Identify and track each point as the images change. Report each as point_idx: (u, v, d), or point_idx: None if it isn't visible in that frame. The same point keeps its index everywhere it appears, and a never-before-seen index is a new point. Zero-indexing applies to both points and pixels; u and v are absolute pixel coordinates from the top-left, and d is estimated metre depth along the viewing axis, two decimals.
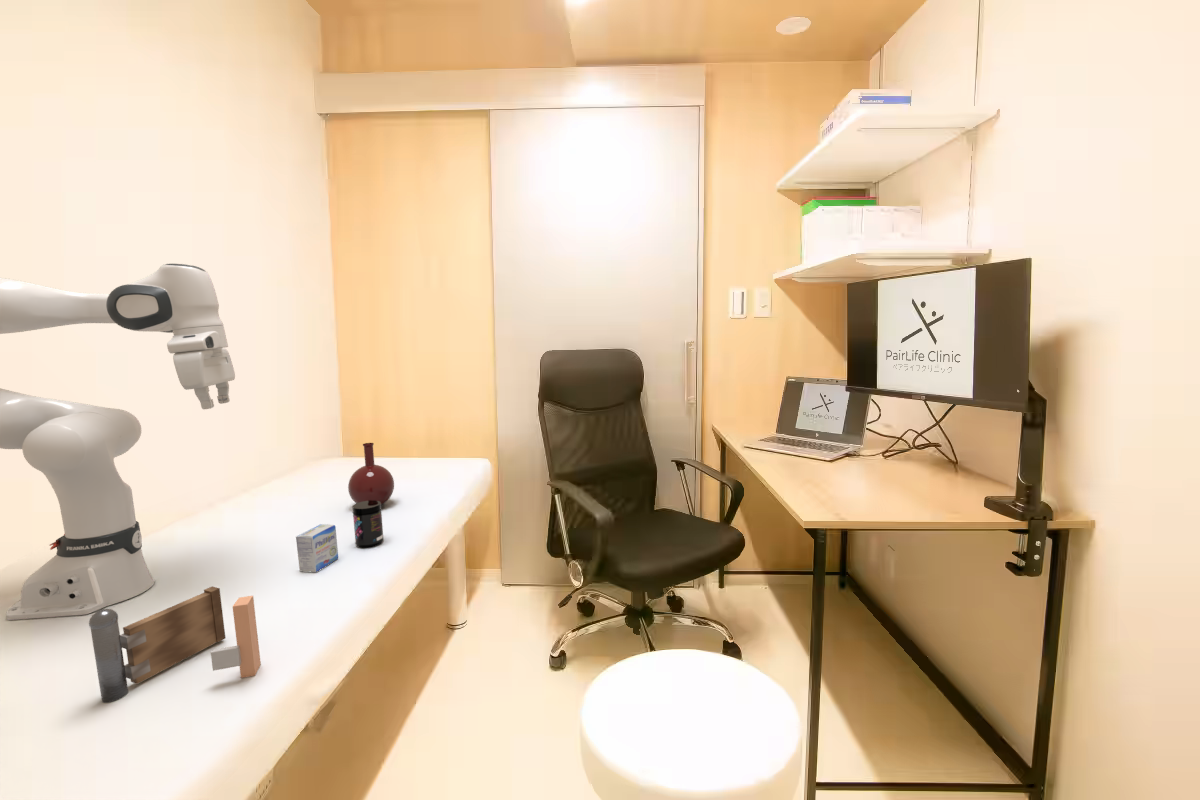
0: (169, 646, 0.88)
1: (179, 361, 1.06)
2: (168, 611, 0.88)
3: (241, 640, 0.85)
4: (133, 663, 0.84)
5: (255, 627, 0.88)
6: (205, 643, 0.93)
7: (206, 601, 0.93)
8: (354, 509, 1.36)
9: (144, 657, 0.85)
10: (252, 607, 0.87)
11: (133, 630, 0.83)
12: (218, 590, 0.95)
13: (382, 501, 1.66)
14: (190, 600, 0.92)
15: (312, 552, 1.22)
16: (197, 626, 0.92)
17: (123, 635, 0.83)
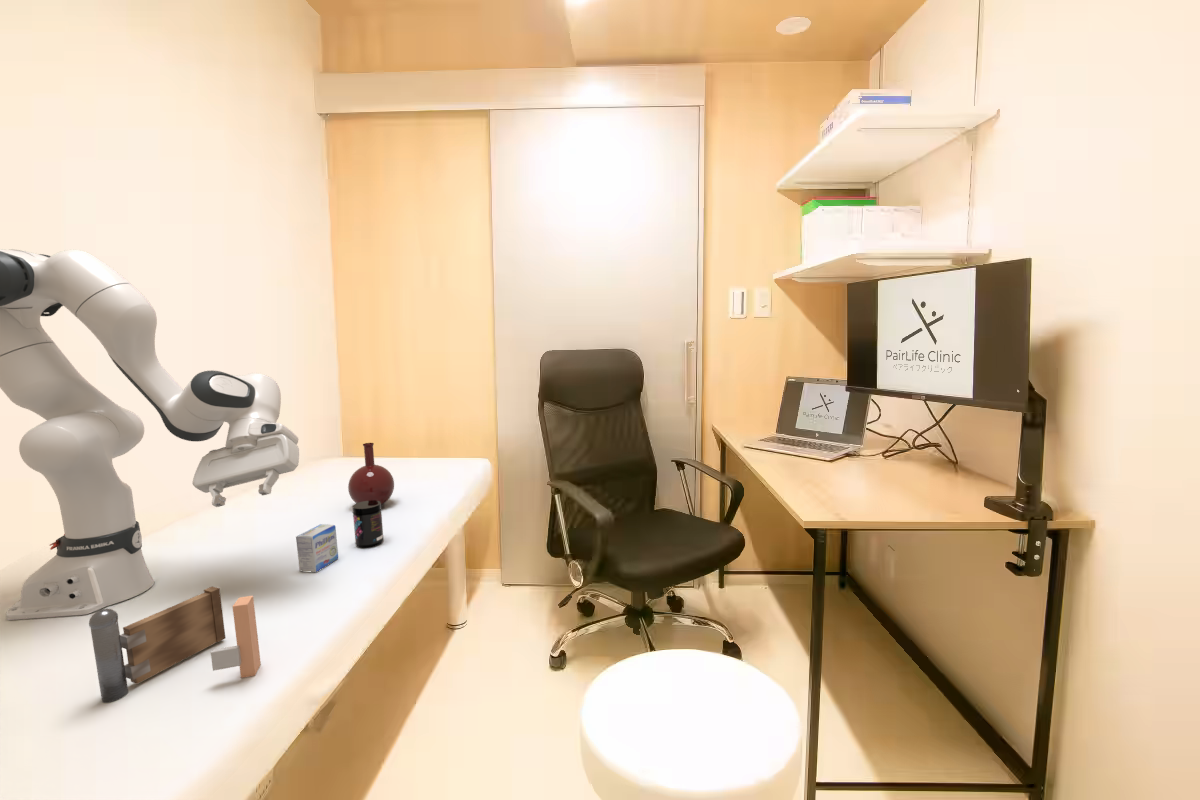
0: (169, 646, 0.88)
1: (289, 441, 1.13)
2: (168, 611, 0.88)
3: (241, 640, 0.85)
4: (133, 663, 0.84)
5: (255, 627, 0.88)
6: (205, 643, 0.93)
7: (206, 601, 0.93)
8: (354, 509, 1.36)
9: (144, 657, 0.85)
10: (252, 607, 0.87)
11: (133, 630, 0.83)
12: (218, 590, 0.95)
13: (382, 501, 1.66)
14: (190, 600, 0.92)
15: (312, 552, 1.22)
16: (197, 626, 0.92)
17: (123, 635, 0.83)
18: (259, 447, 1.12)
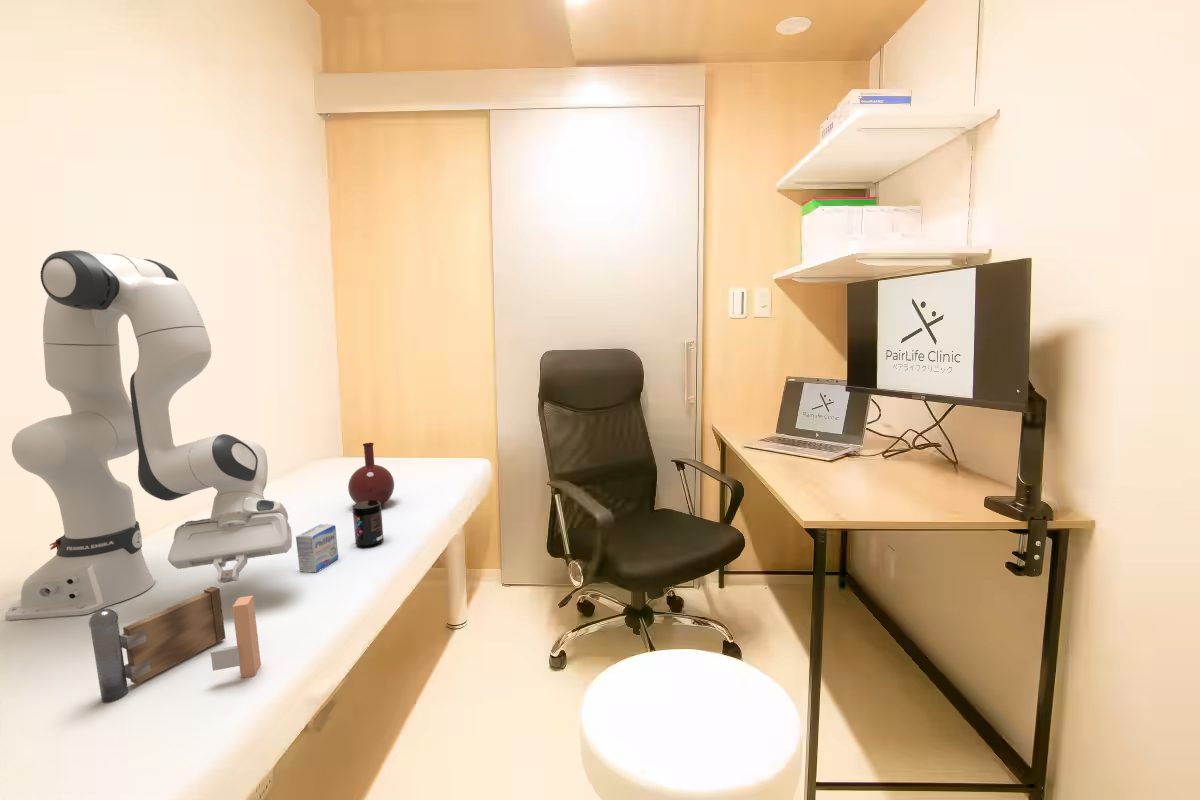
0: (169, 646, 0.88)
1: (286, 520, 1.10)
2: (168, 611, 0.88)
3: (241, 640, 0.85)
4: (133, 663, 0.84)
5: (255, 627, 0.88)
6: (205, 643, 0.93)
7: (206, 601, 0.93)
8: (354, 509, 1.36)
9: (144, 657, 0.85)
10: (252, 607, 0.87)
11: (133, 630, 0.83)
12: (218, 590, 0.95)
13: (382, 501, 1.66)
14: (190, 600, 0.92)
15: (312, 552, 1.22)
16: (197, 626, 0.92)
17: (123, 635, 0.83)
18: (251, 524, 1.08)
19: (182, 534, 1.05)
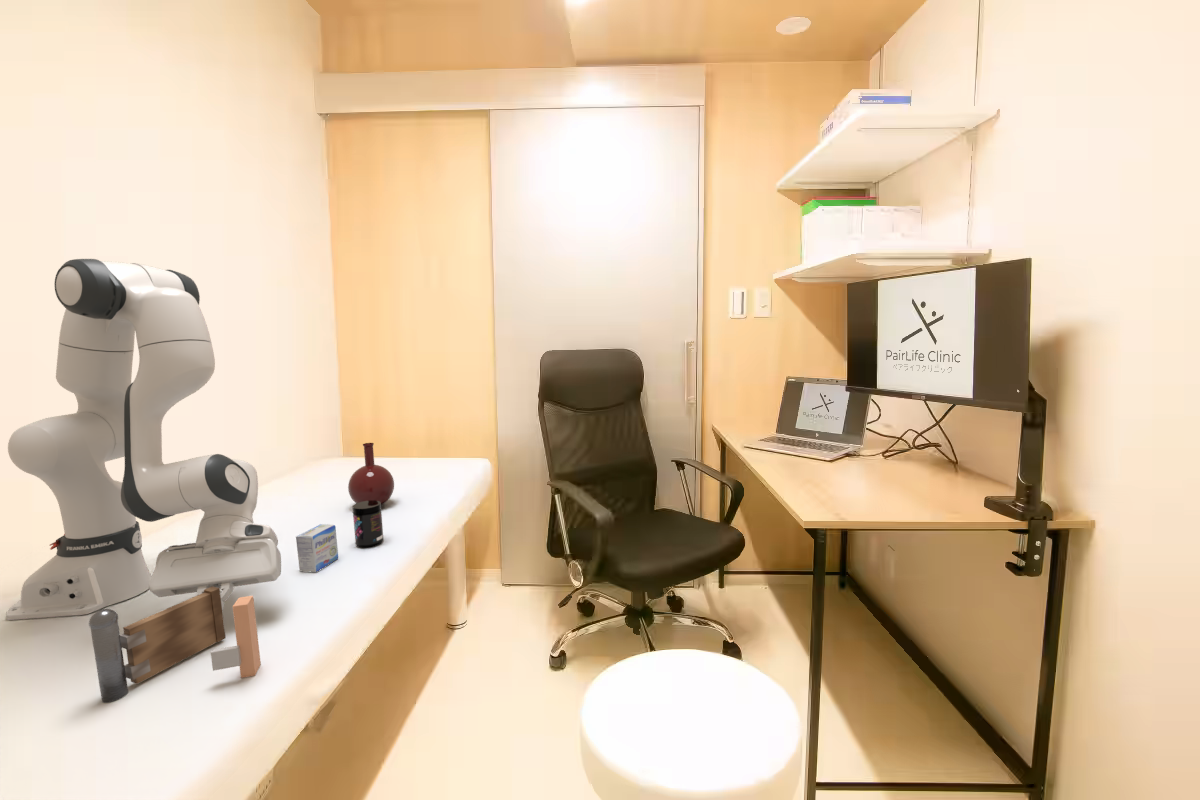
0: (169, 646, 0.88)
1: (276, 546, 1.05)
2: (168, 611, 0.88)
3: (241, 640, 0.85)
4: (133, 663, 0.84)
5: (255, 627, 0.88)
6: (205, 643, 0.93)
7: (206, 601, 0.93)
8: (354, 509, 1.36)
9: (144, 657, 0.85)
10: (252, 607, 0.87)
11: (133, 630, 0.83)
12: (218, 590, 0.95)
13: (382, 501, 1.66)
14: (190, 600, 0.92)
15: (312, 552, 1.22)
16: (197, 626, 0.92)
17: (123, 635, 0.83)
18: (239, 550, 1.02)
19: (165, 560, 0.99)
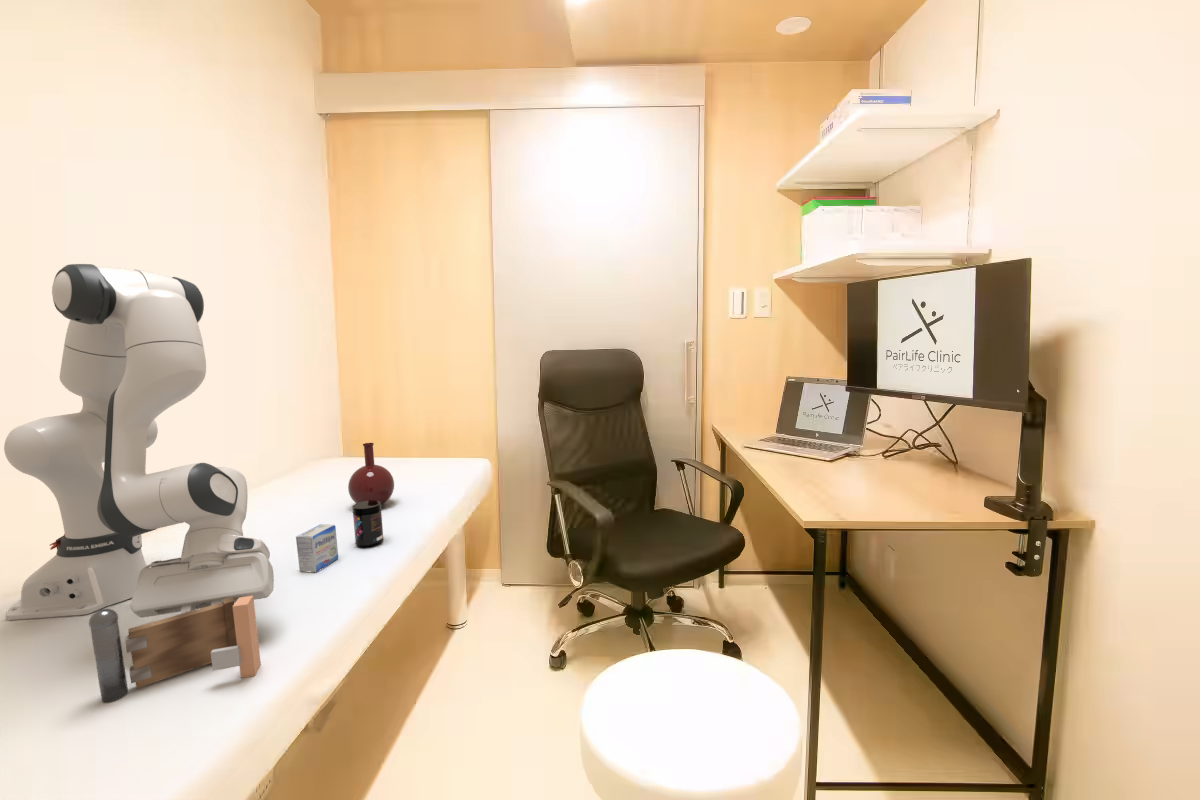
0: (174, 654, 0.86)
1: (268, 561, 0.98)
2: (174, 619, 0.86)
3: (241, 640, 0.85)
4: (133, 667, 0.83)
5: (255, 627, 0.88)
6: None
7: (218, 613, 0.89)
8: (354, 509, 1.36)
9: (145, 662, 0.84)
10: (252, 607, 0.87)
11: (133, 634, 0.82)
12: (232, 603, 0.90)
13: (382, 501, 1.66)
14: (202, 609, 0.88)
15: (312, 552, 1.22)
16: (206, 638, 0.88)
17: (126, 637, 0.83)
18: (228, 566, 0.96)
19: (147, 578, 0.92)
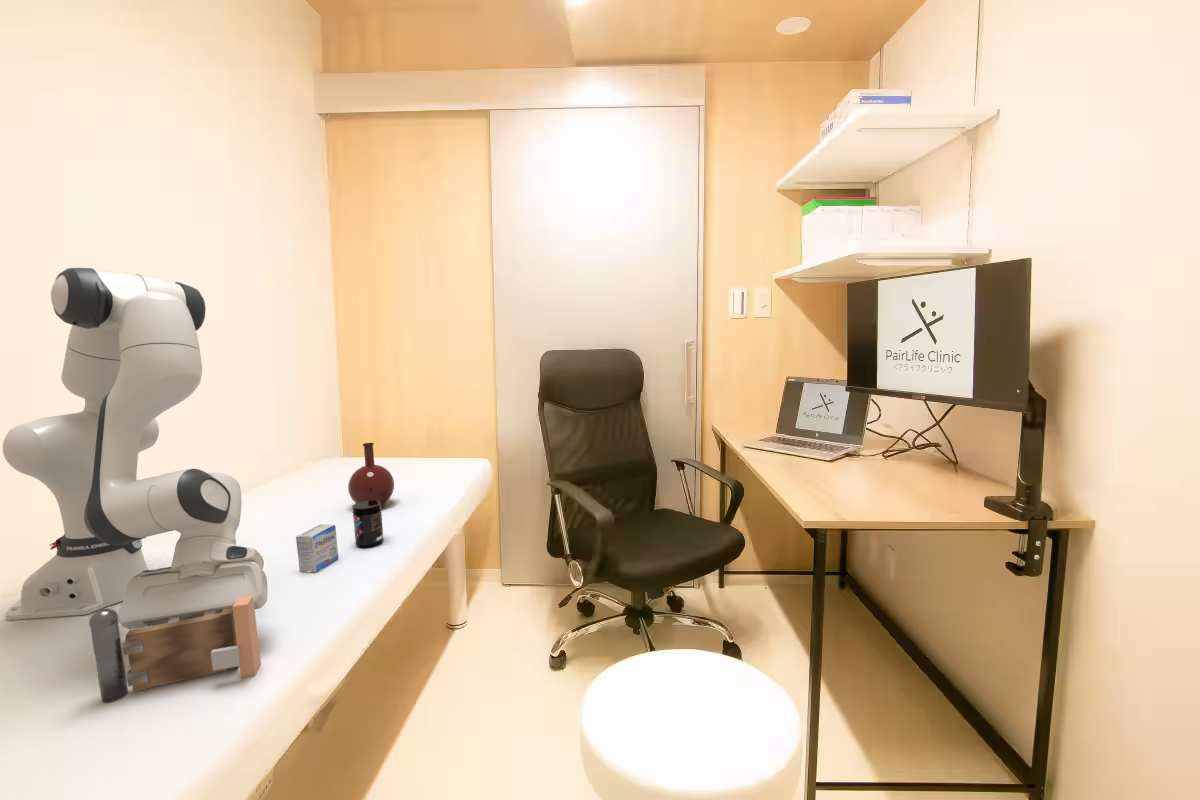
0: (170, 662, 0.84)
1: (261, 570, 0.95)
2: (171, 625, 0.84)
3: (241, 640, 0.85)
4: (130, 670, 0.82)
5: (255, 627, 0.88)
6: None
7: (215, 624, 0.86)
8: (354, 509, 1.36)
9: (142, 666, 0.82)
10: (252, 607, 0.87)
11: (130, 637, 0.81)
12: (229, 615, 0.86)
13: (382, 501, 1.66)
14: (201, 618, 0.86)
15: (312, 552, 1.22)
16: (203, 648, 0.86)
17: (126, 638, 0.82)
18: (220, 575, 0.92)
19: (136, 588, 0.88)
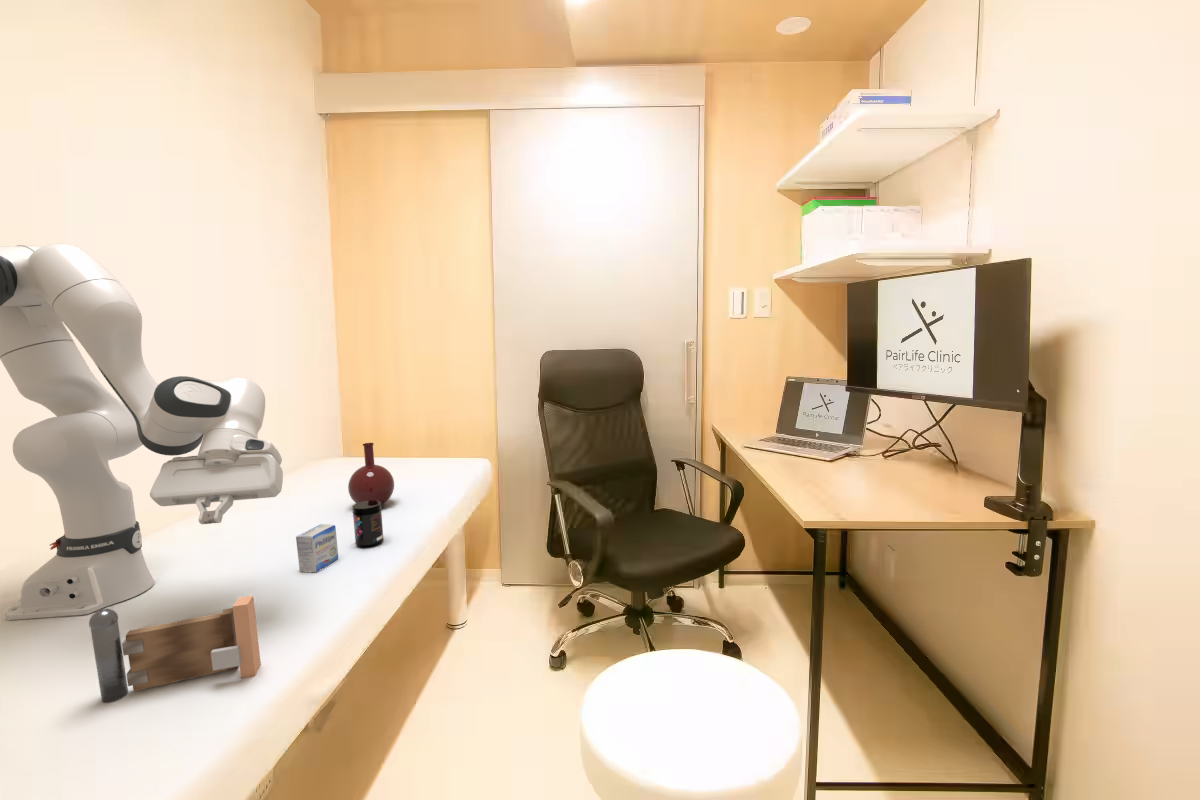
0: (170, 662, 0.84)
1: (276, 463, 1.02)
2: (171, 625, 0.84)
3: (241, 640, 0.85)
4: (130, 670, 0.82)
5: (255, 627, 0.88)
6: None
7: (215, 624, 0.86)
8: (354, 509, 1.36)
9: (142, 666, 0.82)
10: (252, 607, 0.87)
11: (130, 637, 0.81)
12: (229, 615, 0.86)
13: (382, 501, 1.66)
14: (201, 618, 0.86)
15: (312, 552, 1.22)
16: (203, 648, 0.86)
17: (126, 638, 0.82)
18: (239, 464, 1.00)
19: (167, 470, 0.97)
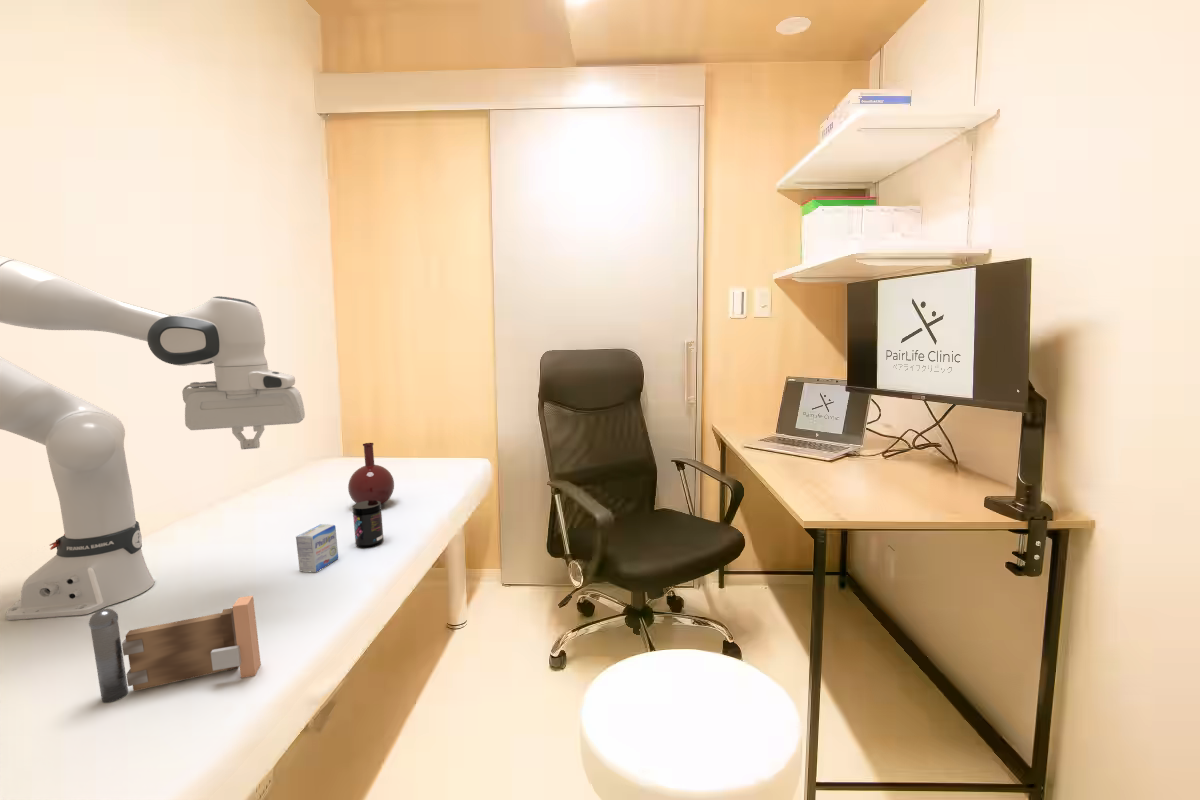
0: (170, 662, 0.84)
1: (296, 395, 1.10)
2: (171, 625, 0.84)
3: (241, 640, 0.85)
4: (130, 670, 0.82)
5: (255, 627, 0.88)
6: None
7: (215, 624, 0.86)
8: (354, 509, 1.36)
9: (142, 666, 0.82)
10: (252, 607, 0.87)
11: (130, 637, 0.81)
12: (229, 615, 0.86)
13: (382, 501, 1.66)
14: (201, 618, 0.86)
15: (312, 552, 1.22)
16: (203, 648, 0.86)
17: (126, 638, 0.82)
18: (262, 397, 1.07)
19: (192, 402, 1.04)
